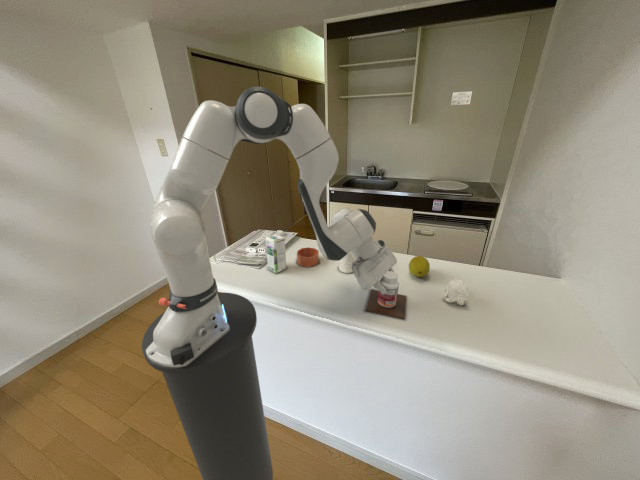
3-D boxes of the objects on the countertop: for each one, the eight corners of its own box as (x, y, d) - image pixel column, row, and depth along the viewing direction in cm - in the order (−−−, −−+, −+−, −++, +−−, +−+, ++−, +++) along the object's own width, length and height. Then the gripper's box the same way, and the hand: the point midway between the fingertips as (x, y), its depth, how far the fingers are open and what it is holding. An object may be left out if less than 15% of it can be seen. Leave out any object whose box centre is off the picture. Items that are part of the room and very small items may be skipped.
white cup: (333, 268, 108) (334, 247, 104) (347, 262, 113) (348, 241, 108) (346, 276, 103) (347, 254, 98) (360, 269, 107) (361, 248, 103)
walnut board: (404, 319, 80) (404, 318, 80) (365, 311, 83) (365, 309, 83) (405, 296, 90) (405, 295, 90) (371, 290, 94) (371, 289, 93)
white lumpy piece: (449, 283, 82) (447, 268, 93) (444, 305, 85) (442, 288, 96) (472, 287, 80) (466, 271, 91) (465, 310, 83) (461, 292, 94)
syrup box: (267, 269, 108) (264, 237, 102) (278, 263, 112) (275, 233, 106) (276, 273, 104) (273, 241, 98) (287, 268, 109) (285, 236, 102)
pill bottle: (384, 294, 91) (387, 267, 86) (399, 302, 86) (404, 274, 82) (373, 302, 87) (376, 274, 82) (389, 311, 83) (393, 282, 78)
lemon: (409, 267, 109) (412, 250, 105) (429, 271, 105) (432, 254, 102) (404, 279, 100) (407, 261, 97) (425, 285, 97) (429, 266, 93)
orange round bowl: (314, 268, 108) (314, 258, 106) (293, 264, 111) (293, 255, 109) (321, 258, 116) (321, 249, 114) (301, 254, 119) (301, 246, 117)
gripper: (356, 260, 75) (383, 300, 74) (386, 238, 90) (409, 270, 89) (343, 269, 80) (368, 306, 78) (373, 246, 94) (395, 277, 93)
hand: (390, 287), depth 84 cm, fingers closed on pill bottle, 6 cm apart
